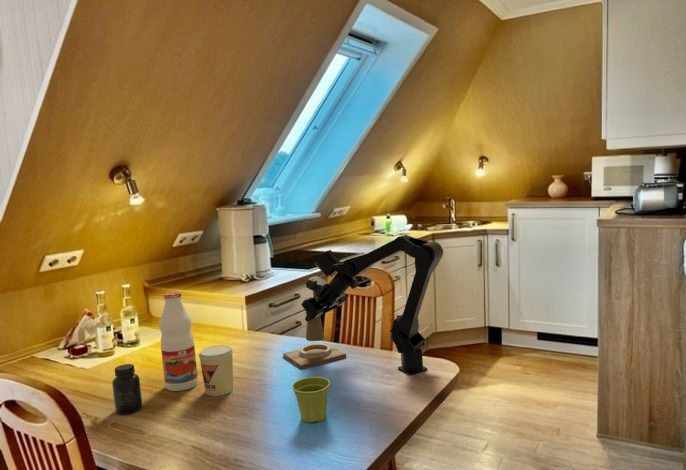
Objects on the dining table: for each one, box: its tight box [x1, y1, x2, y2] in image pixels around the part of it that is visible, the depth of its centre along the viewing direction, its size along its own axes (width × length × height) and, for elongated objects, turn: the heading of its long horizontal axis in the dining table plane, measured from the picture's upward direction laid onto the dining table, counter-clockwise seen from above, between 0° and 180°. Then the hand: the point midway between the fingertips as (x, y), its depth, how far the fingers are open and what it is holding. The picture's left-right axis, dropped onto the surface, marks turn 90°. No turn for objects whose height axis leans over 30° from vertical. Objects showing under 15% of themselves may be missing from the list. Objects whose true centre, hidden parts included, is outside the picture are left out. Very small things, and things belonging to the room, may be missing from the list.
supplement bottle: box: [111, 363, 143, 416], centre depth 147 cm, size 7×7×12 cm
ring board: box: [282, 342, 347, 370], centre depth 180 cm, size 14×16×2 cm
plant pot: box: [291, 376, 331, 424], centre depth 136 cm, size 9×9×9 cm
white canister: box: [198, 344, 234, 397], centre depth 157 cm, size 9×9×12 cm
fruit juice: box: [158, 290, 199, 392], centre depth 161 cm, size 9×9×28 cm
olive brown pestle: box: [304, 309, 325, 342], centre depth 180 cm, size 6×6×11 cm
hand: (310, 318), depth 180 cm, fingers closed on olive brown pestle, 5 cm apart
